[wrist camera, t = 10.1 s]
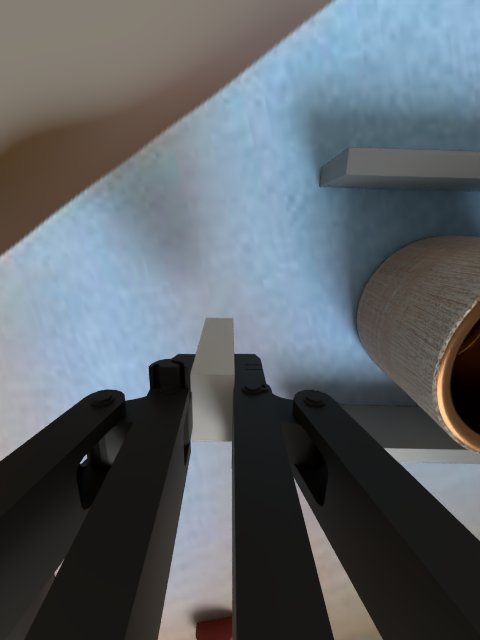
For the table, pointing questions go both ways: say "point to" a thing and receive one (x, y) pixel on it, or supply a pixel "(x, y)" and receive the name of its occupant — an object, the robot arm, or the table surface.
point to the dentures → (215, 629)
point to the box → (411, 174)
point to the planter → (430, 329)
